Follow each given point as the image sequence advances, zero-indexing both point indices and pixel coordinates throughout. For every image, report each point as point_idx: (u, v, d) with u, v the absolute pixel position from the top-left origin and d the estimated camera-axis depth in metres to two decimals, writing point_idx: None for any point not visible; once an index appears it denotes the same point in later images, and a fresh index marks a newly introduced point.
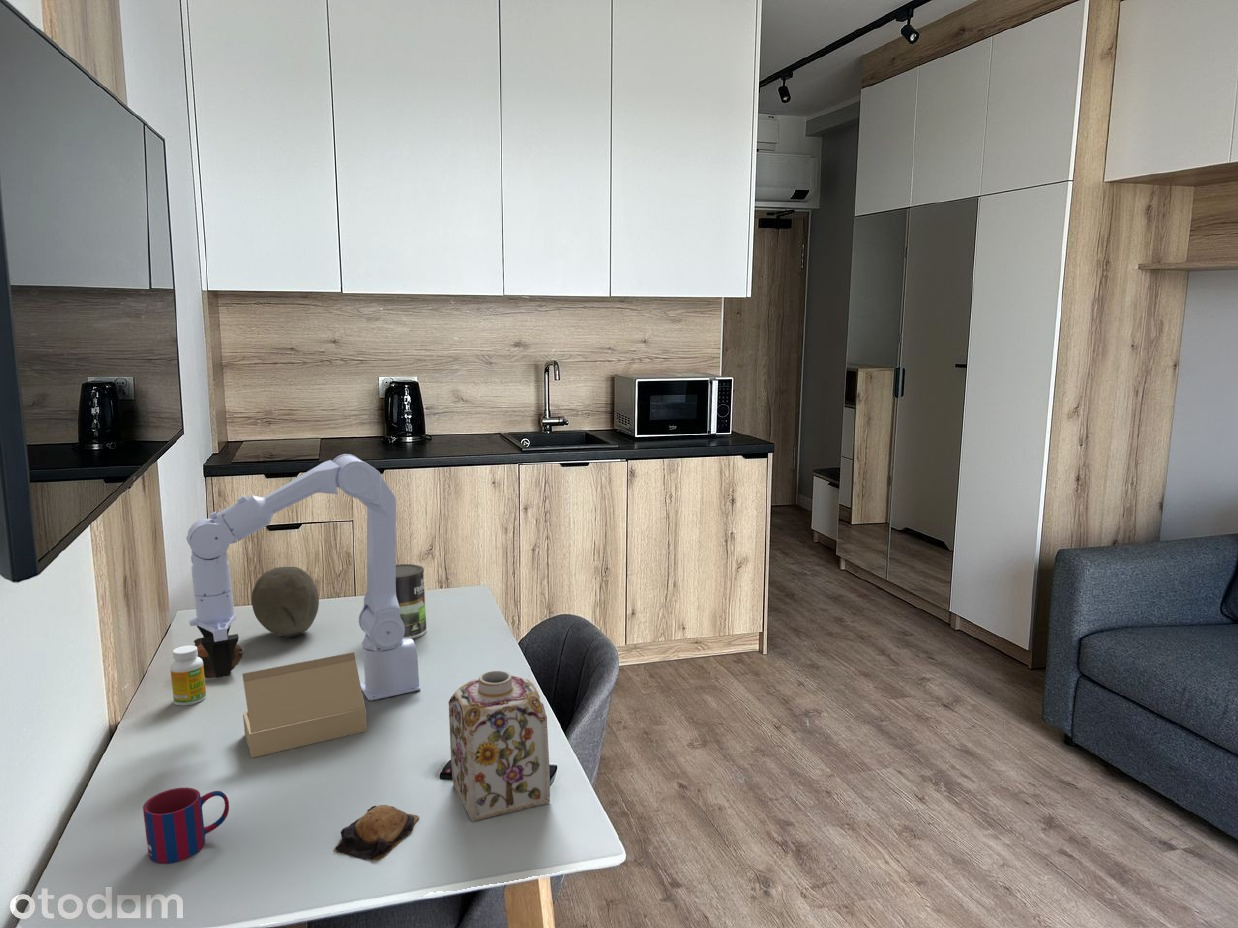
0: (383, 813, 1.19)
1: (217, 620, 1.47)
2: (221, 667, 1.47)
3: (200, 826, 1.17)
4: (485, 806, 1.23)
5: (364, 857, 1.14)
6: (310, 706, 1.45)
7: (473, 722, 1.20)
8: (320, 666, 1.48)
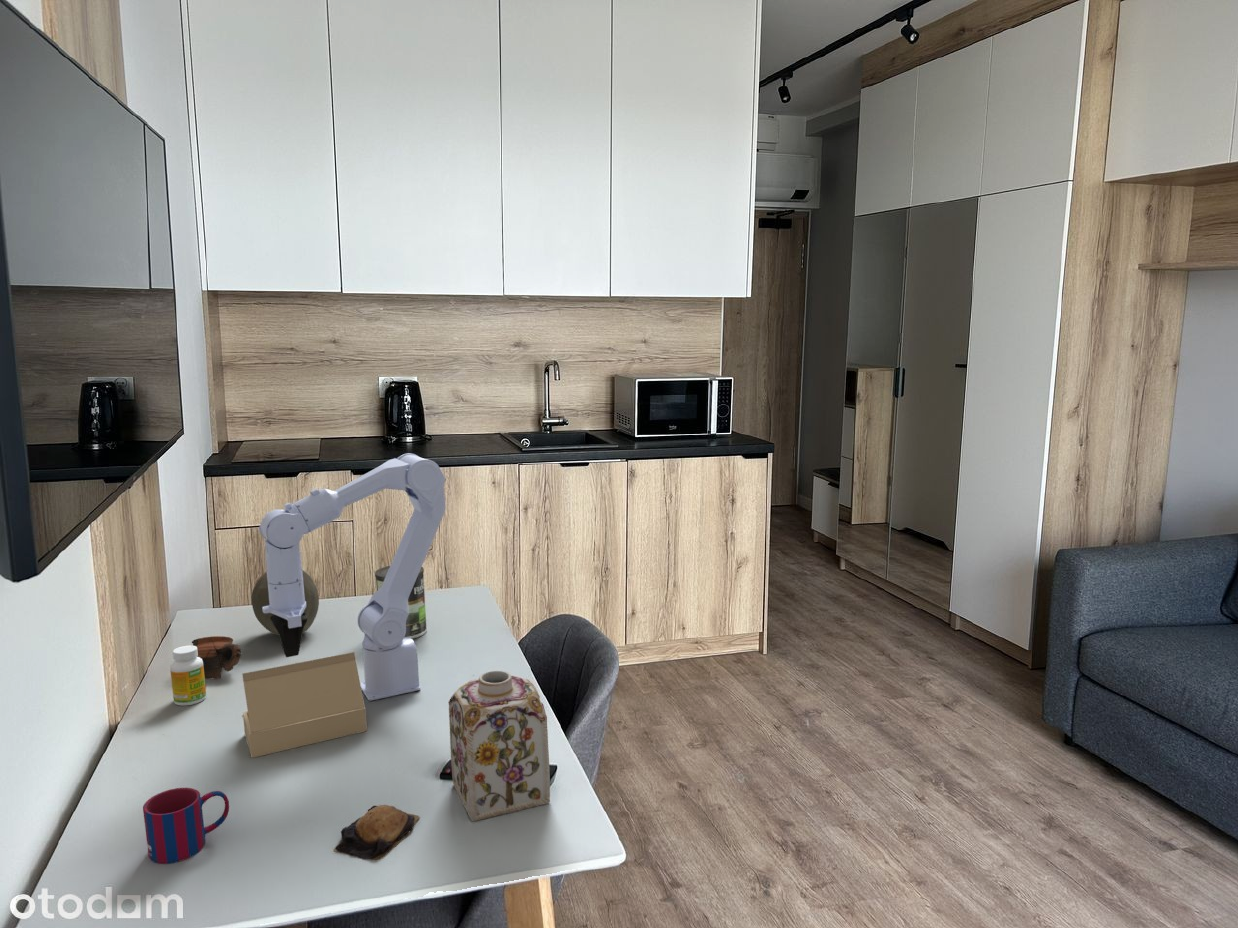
0: (383, 813, 1.19)
1: (290, 608, 1.51)
2: (290, 647, 1.54)
3: (200, 826, 1.17)
4: (485, 806, 1.23)
5: (364, 857, 1.14)
6: (310, 706, 1.45)
7: (473, 722, 1.20)
8: (320, 666, 1.48)
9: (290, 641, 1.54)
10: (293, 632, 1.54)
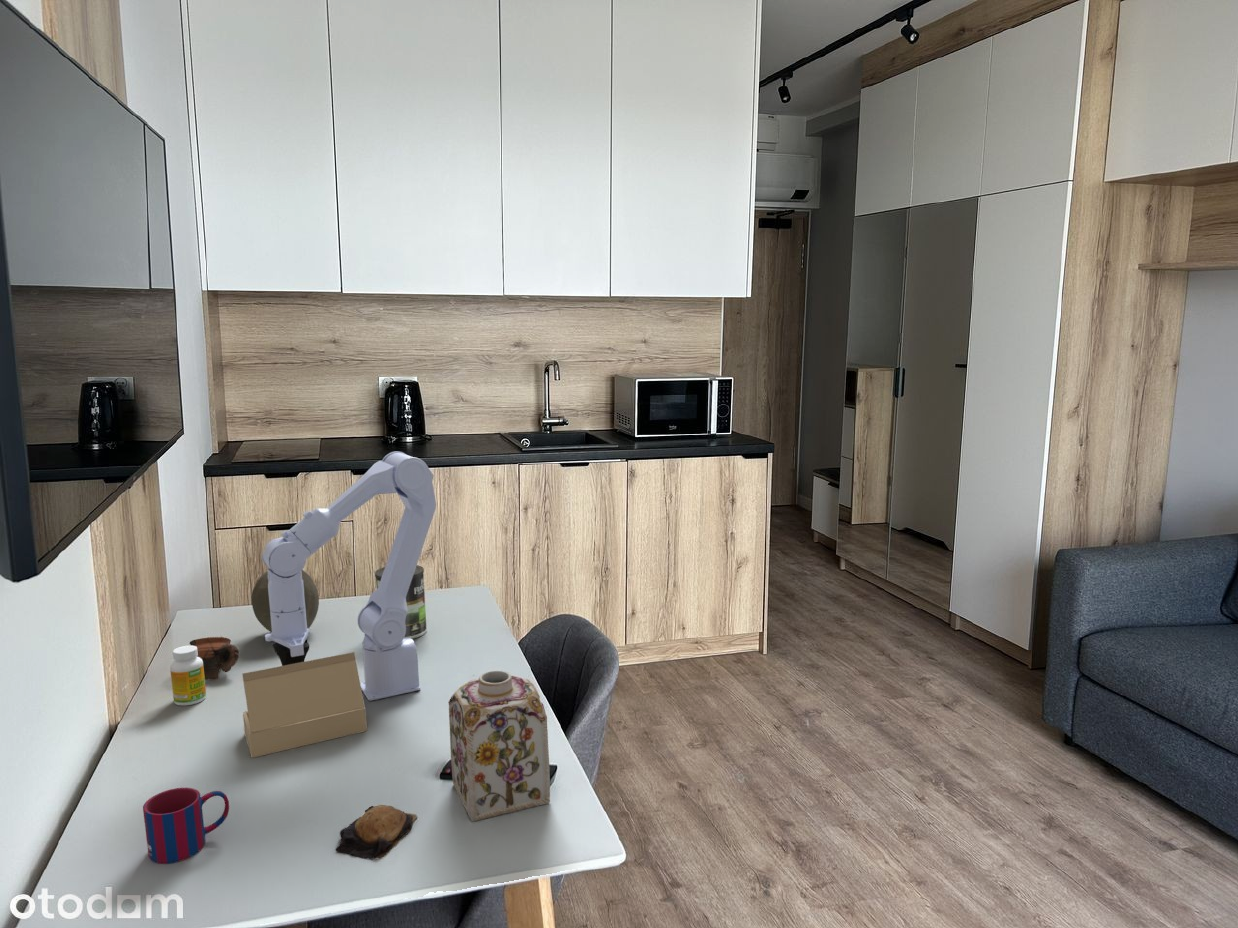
0: (382, 812, 1.19)
1: (292, 636, 1.52)
2: None
3: (200, 826, 1.17)
4: (485, 806, 1.23)
5: (365, 857, 1.14)
6: (310, 706, 1.45)
7: (473, 722, 1.20)
8: (320, 666, 1.48)
9: None
10: (295, 659, 1.55)
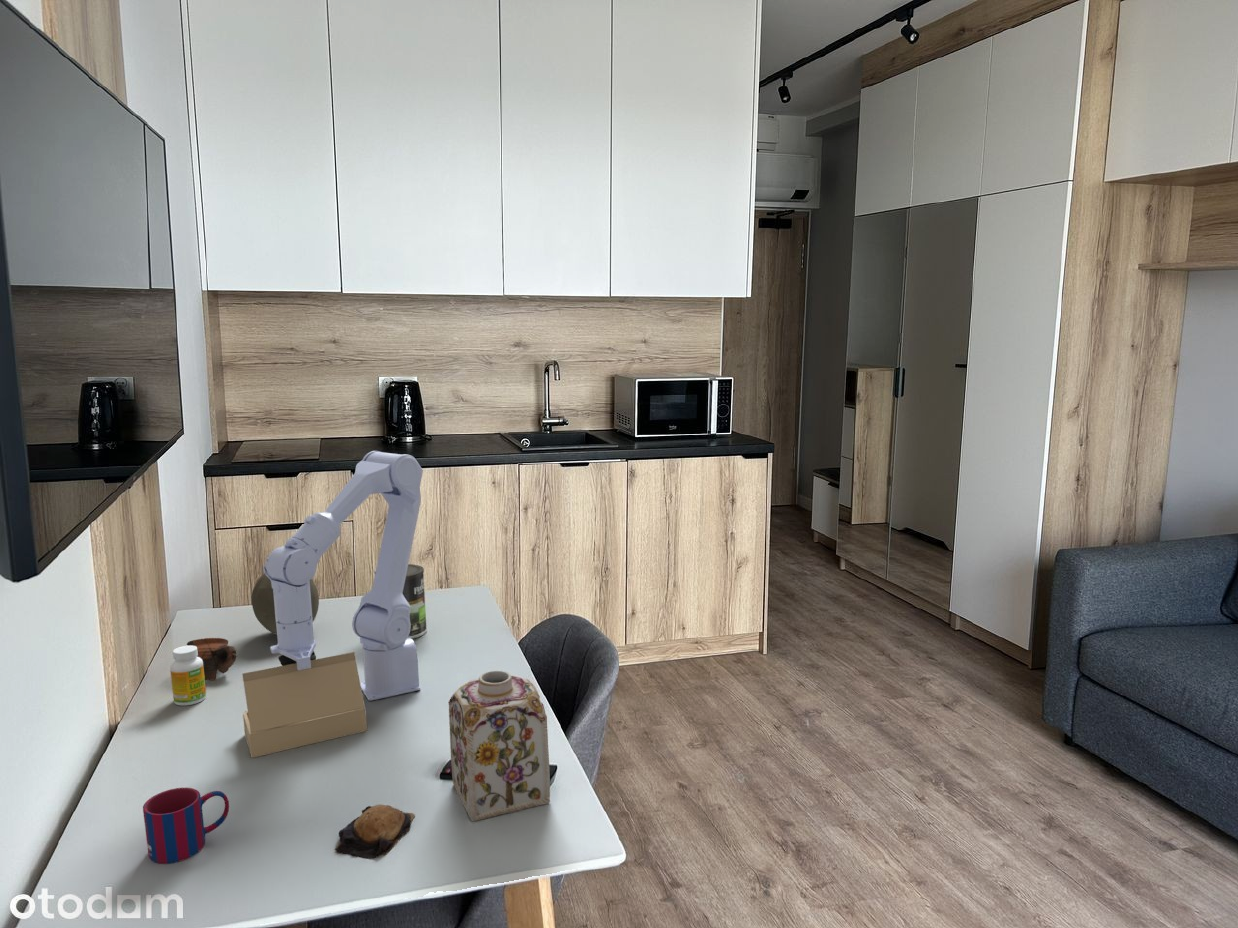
0: (381, 812, 1.19)
1: (299, 648, 1.46)
2: None
3: (200, 826, 1.17)
4: (485, 806, 1.23)
5: (367, 856, 1.14)
6: (310, 706, 1.45)
7: (473, 722, 1.20)
8: (320, 666, 1.48)
9: None
10: None
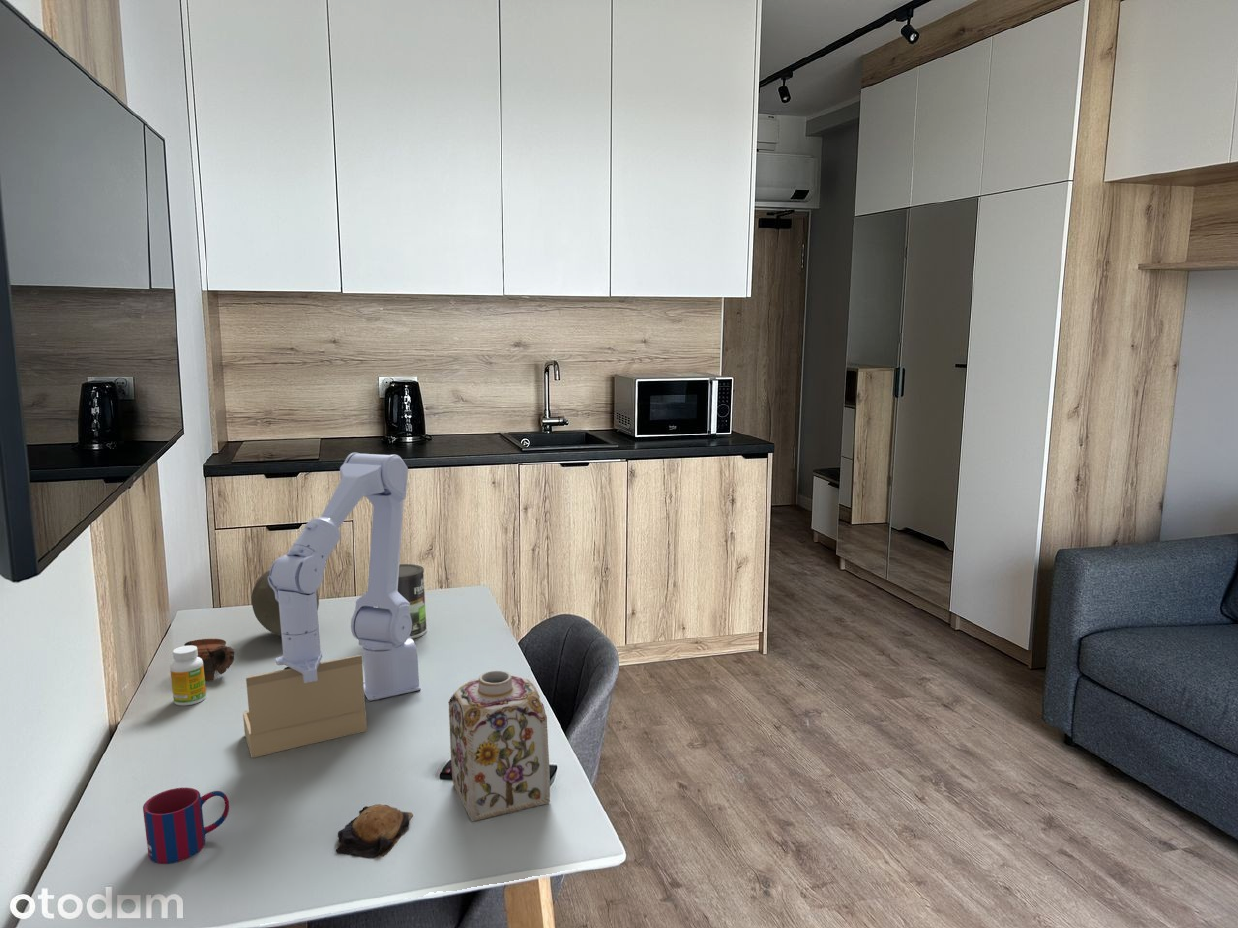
0: (380, 812, 1.19)
1: (305, 659, 1.41)
2: None
3: (200, 826, 1.17)
4: (485, 806, 1.23)
5: (368, 856, 1.14)
6: (311, 709, 1.44)
7: (473, 722, 1.20)
8: (326, 670, 1.44)
9: None
10: None
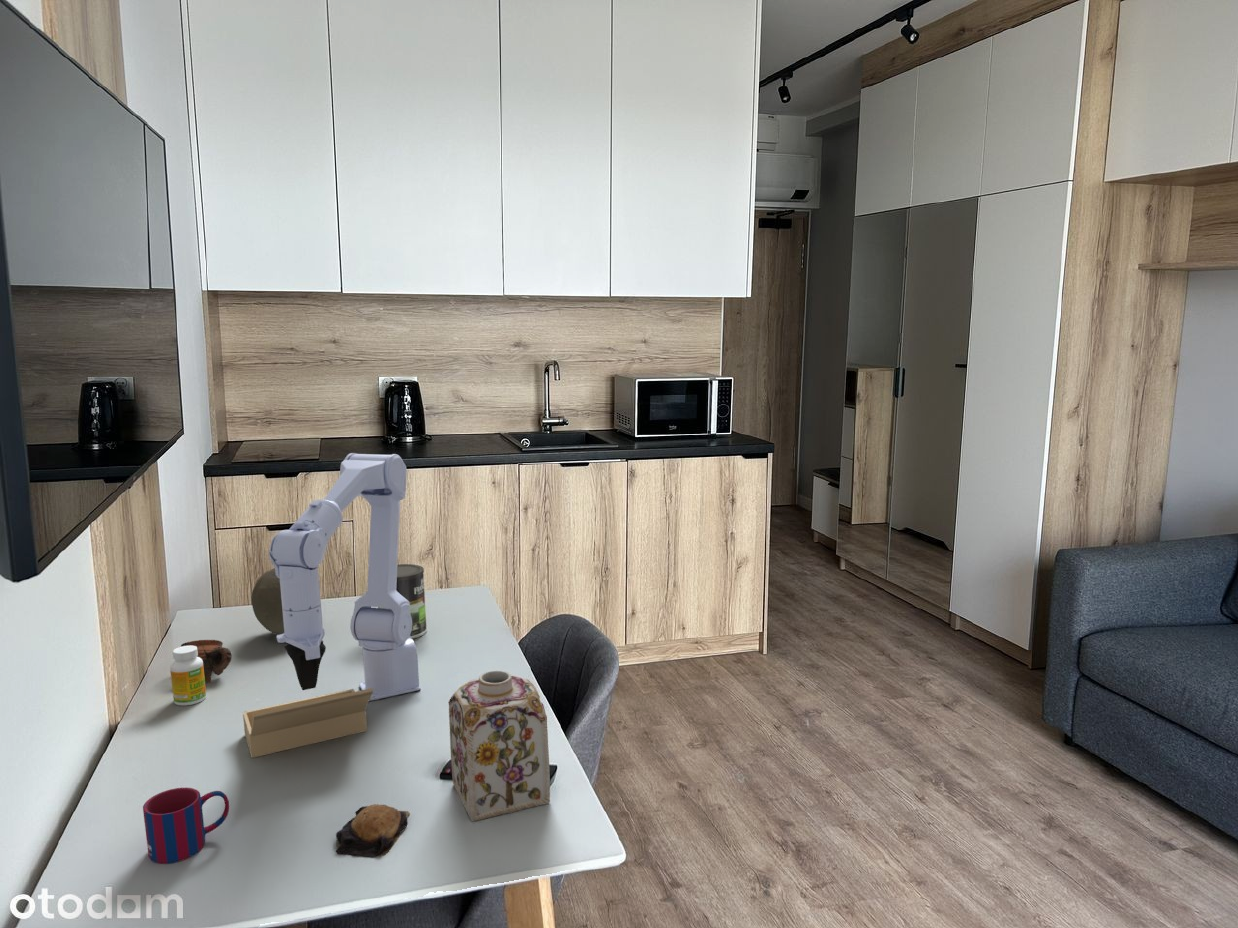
0: (378, 811, 1.20)
1: (307, 636, 1.38)
2: (307, 679, 1.41)
3: (200, 826, 1.17)
4: (485, 806, 1.23)
5: (369, 855, 1.15)
6: (313, 718, 1.43)
7: (473, 722, 1.20)
8: (334, 702, 1.39)
9: (307, 673, 1.40)
10: (310, 663, 1.41)
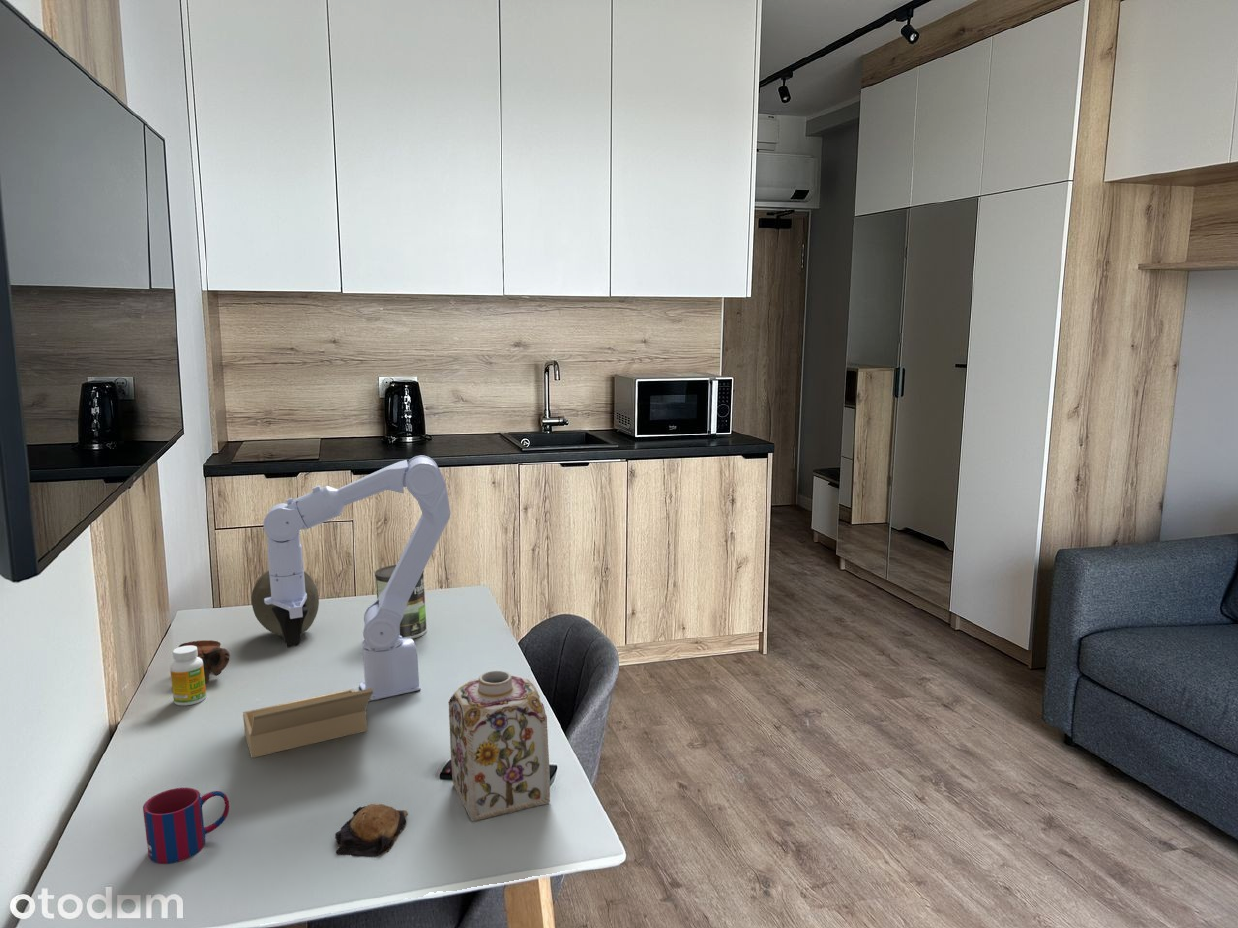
0: (377, 811, 1.20)
1: (291, 599, 1.56)
2: (291, 637, 1.59)
3: (200, 826, 1.17)
4: (485, 806, 1.23)
5: (370, 855, 1.15)
6: (313, 718, 1.43)
7: (473, 722, 1.20)
8: (334, 702, 1.39)
9: (291, 632, 1.59)
10: (294, 623, 1.59)
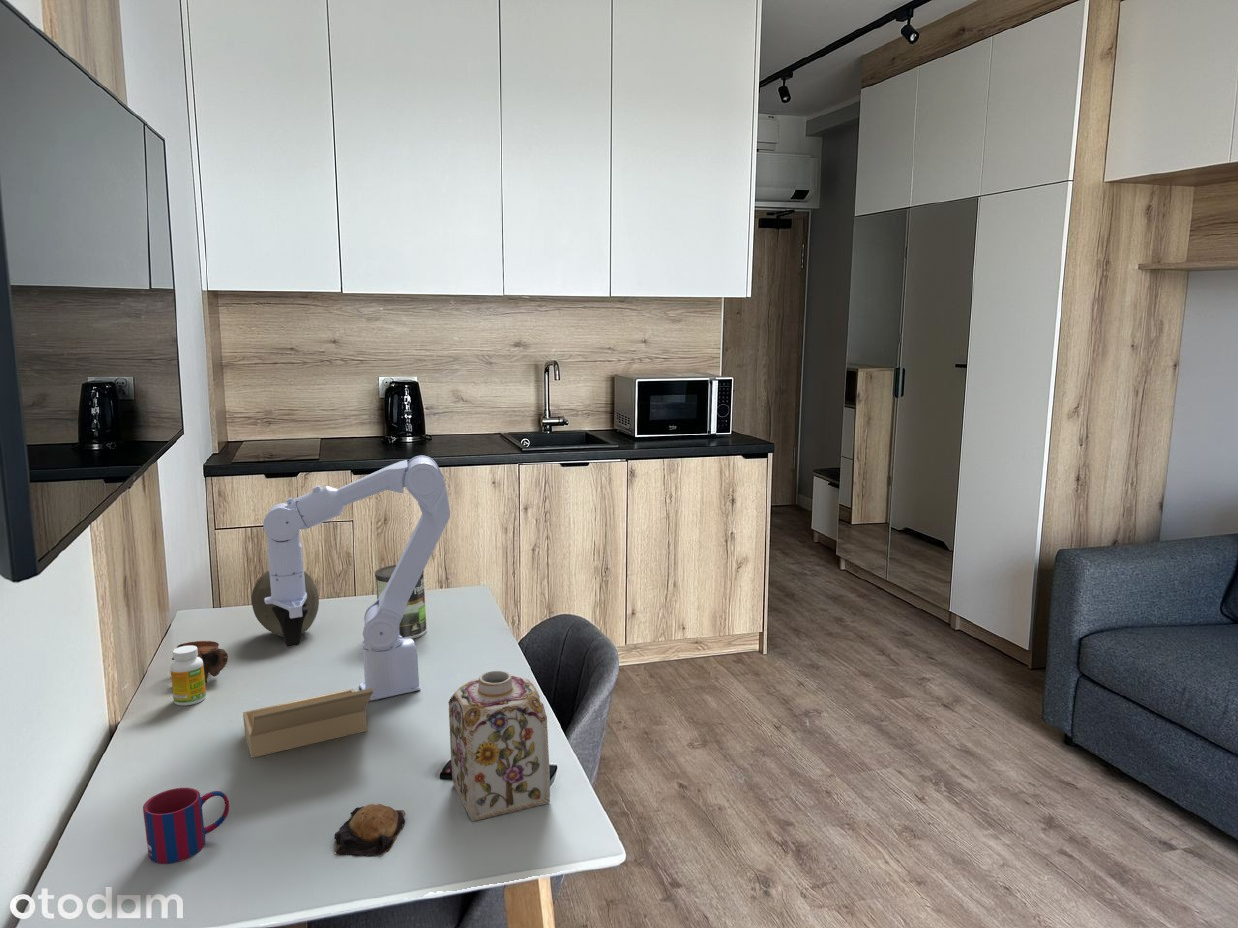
0: (377, 810, 1.20)
1: (291, 599, 1.56)
2: (291, 637, 1.59)
3: (200, 826, 1.17)
4: (485, 806, 1.23)
5: (371, 855, 1.15)
6: (313, 718, 1.43)
7: (473, 722, 1.20)
8: (334, 702, 1.39)
9: (291, 631, 1.59)
10: (294, 622, 1.59)
